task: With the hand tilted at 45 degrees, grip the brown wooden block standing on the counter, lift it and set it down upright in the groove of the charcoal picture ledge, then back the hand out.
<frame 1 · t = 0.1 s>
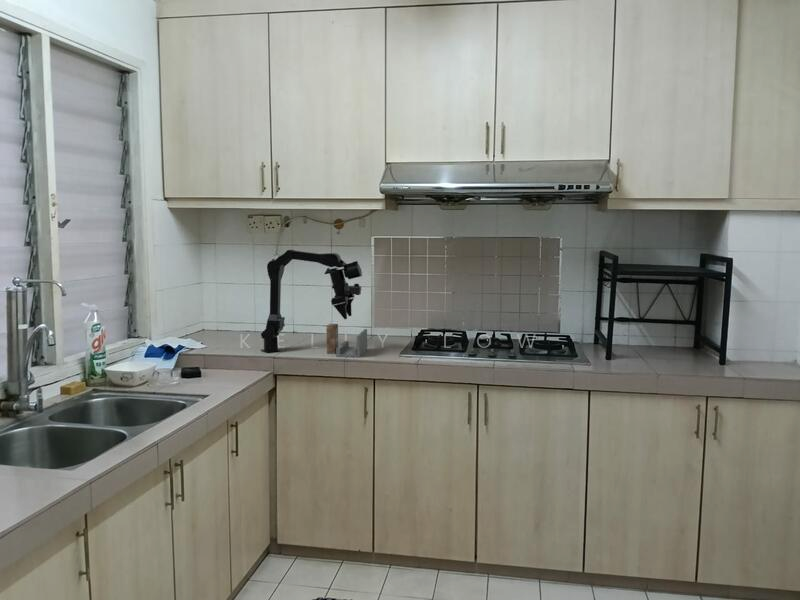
hand: (348, 317, 273), 15 cm above the worktop, tool pointing down, fingers open, 9 cm apart
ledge: (350, 352, 275), on the worktop
brown wooden block: (332, 352, 276), on the worktop
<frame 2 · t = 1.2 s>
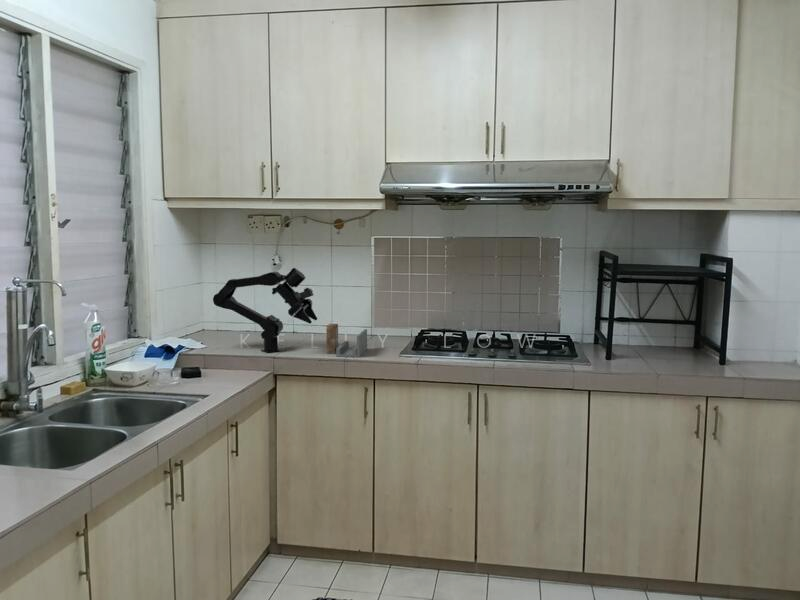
hand: (313, 321, 275), 13 cm above the worktop, tool tilted 45°, fingers open, 9 cm apart
nothing on the worktop moved.
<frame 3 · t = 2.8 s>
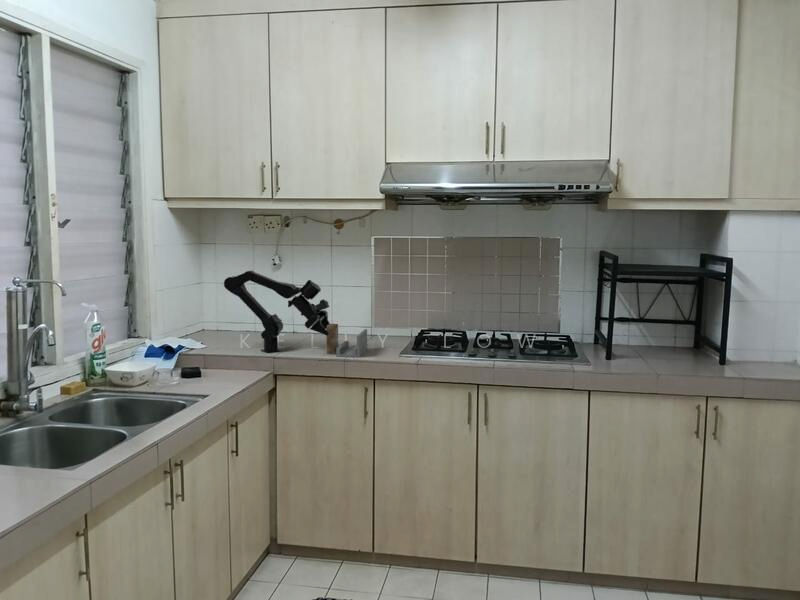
hand: (330, 332, 275), 8 cm above the worktop, tool tilted 45°, fingers open, 9 cm apart
nothing on the worktop moved.
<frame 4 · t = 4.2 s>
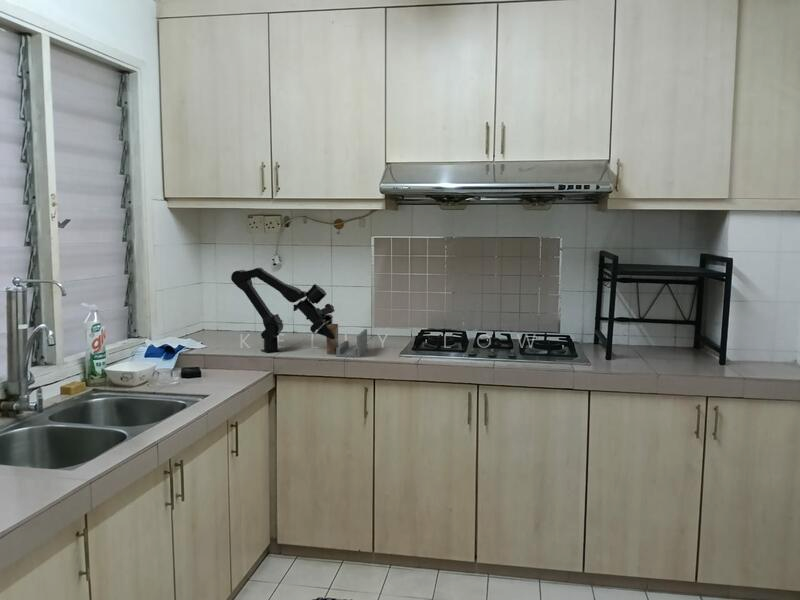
hand: (335, 337, 275), 7 cm above the worktop, tool tilted 45°, fingers closed on brown wooden block, 6 cm apart
brown wooden block: (332, 352, 276), on the worktop, touching gripper
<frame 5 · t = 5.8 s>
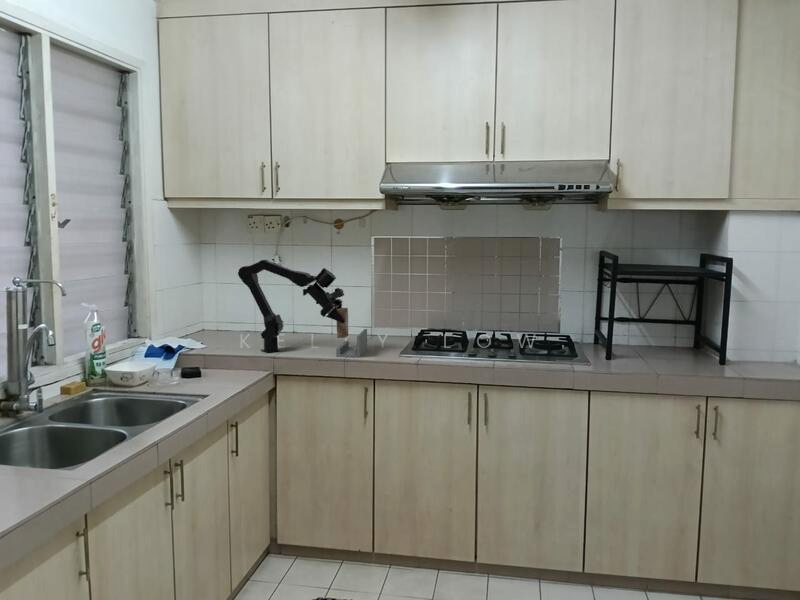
hand: (345, 321, 274), 14 cm above the worktop, tool tilted 45°, fingers closed on brown wooden block, 6 cm apart
brown wooden block: (342, 336, 274), point 7 cm above the worktop, touching gripper
when the fingers open (9 cm above the worktop, at t = 7.5 s): brown wooden block drops 1 cm, resting on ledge.
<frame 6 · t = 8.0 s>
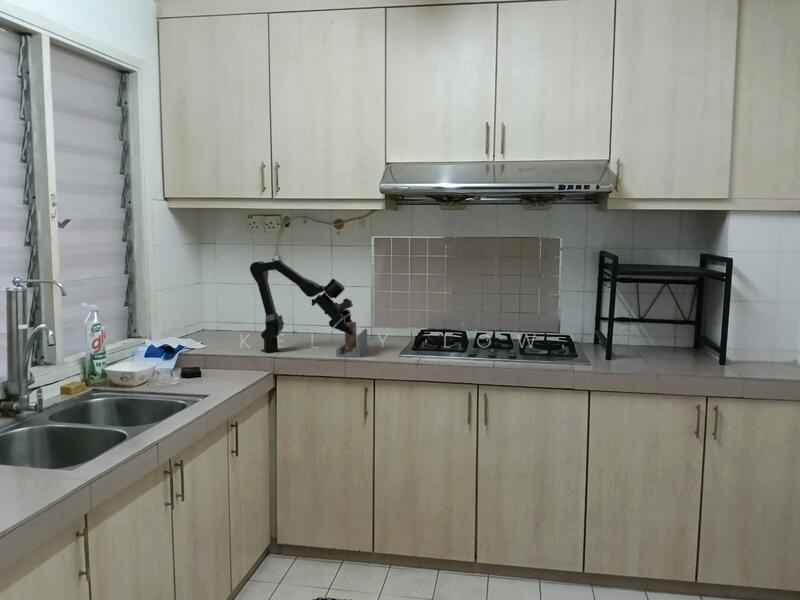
hand: (353, 332, 274), 9 cm above the worktop, tool tilted 45°, fingers open, 9 cm apart
brown wooden block: (350, 350, 275), point 1 cm above the worktop, touching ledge
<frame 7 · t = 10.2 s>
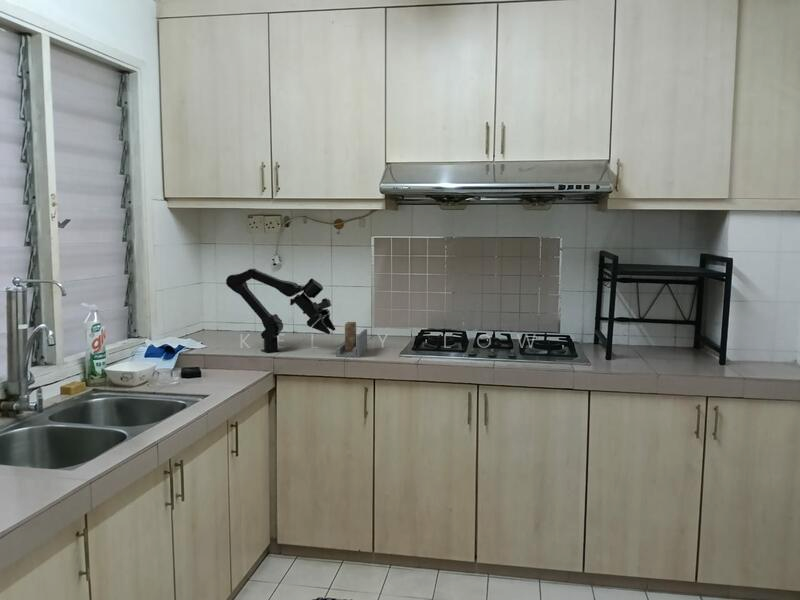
hand: (332, 331, 275), 9 cm above the worktop, tool tilted 45°, fingers open, 9 cm apart
nothing on the worktop moved.
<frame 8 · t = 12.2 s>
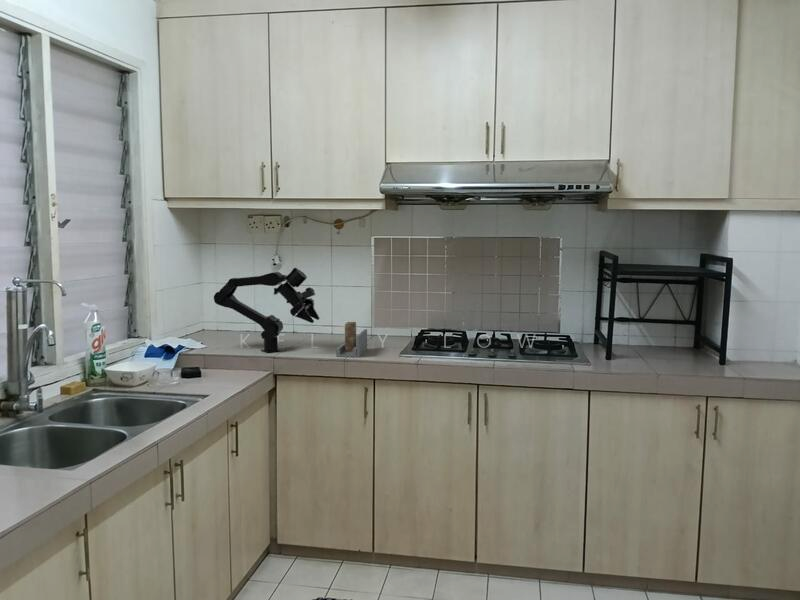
hand: (316, 320, 275), 14 cm above the worktop, tool tilted 45°, fingers open, 9 cm apart
nothing on the worktop moved.
at the end: brown wooden block 0.0 cm off-centre on the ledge, point 1.0 cm above the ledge's base; brown wooden block tilted 0°; the gripper is holding nothing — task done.
